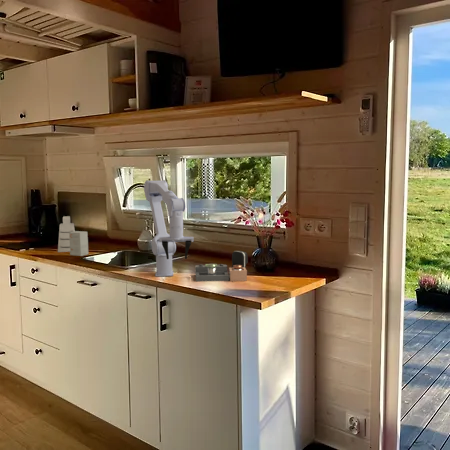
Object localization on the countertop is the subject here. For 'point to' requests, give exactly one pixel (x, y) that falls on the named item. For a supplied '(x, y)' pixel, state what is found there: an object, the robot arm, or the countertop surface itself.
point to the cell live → (211, 269)
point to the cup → (238, 274)
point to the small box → (78, 243)
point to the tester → (202, 275)
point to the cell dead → (237, 267)
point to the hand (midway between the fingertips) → (176, 258)
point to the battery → (239, 258)
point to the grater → (65, 234)
